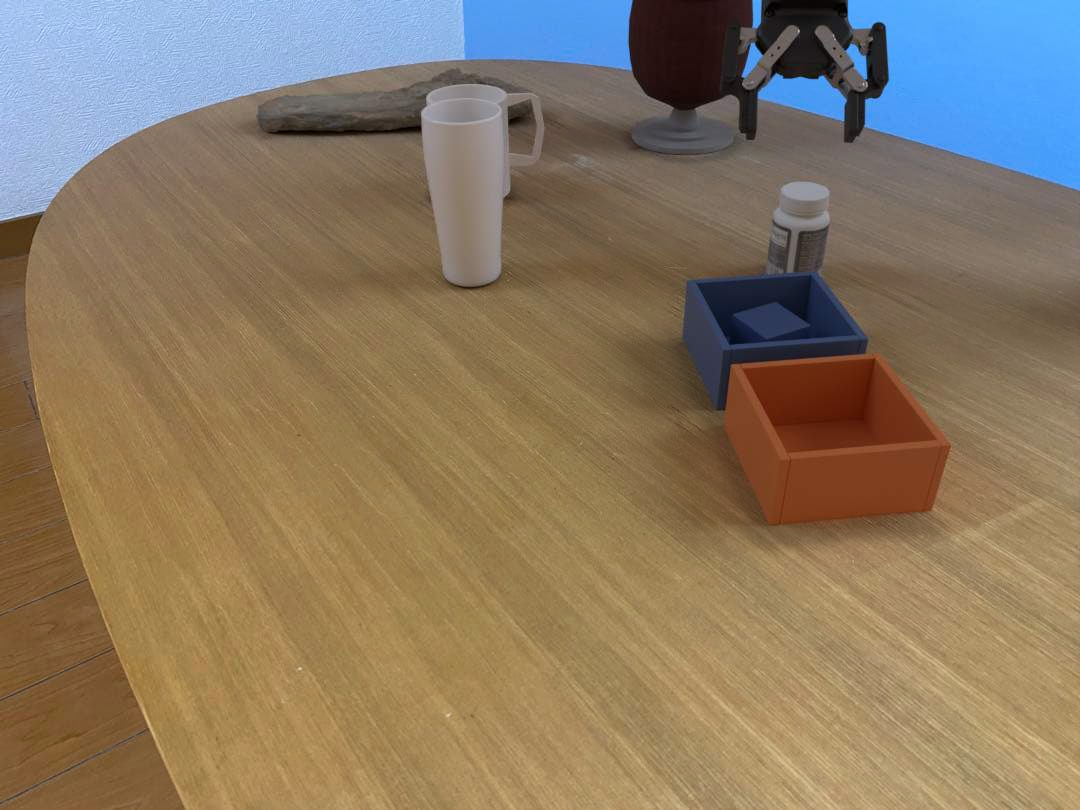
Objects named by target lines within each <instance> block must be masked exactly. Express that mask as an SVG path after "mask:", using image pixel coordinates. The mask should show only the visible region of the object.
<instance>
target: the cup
mask: <svg viewBox="0 0 1080 810" xmlns="http://www.w3.org/2000/svg"><path fill="white" fill-rule="evenodd" d="M532 93H533V92H532ZM532 93H516V94H507V93H506V92H505V91H504V90H502V89H500V88H497V87H494V86H489V85H481V84H462V85H453V86H447V87H443V88H439V89H437V90H434V91H432V92H430V93H429V94H428V95H427V97H426V101H427V106H428V105H430V104H433V103H435V102H439V101H443V100H449V99H458V98H474V99H483V100H488V101H491V102H494V103H496V104H498V105H499V106H500V107H501V108H502V115H503V125H504V140H505V172H504V194H503V198H505V197H507V196H508V195H509V193H510V192H511V167H528V166H529V167H530V166H534V165H535V163H536V162H537V161H538V160H539V159H540V158H541V153H542V148H543V143H544V135H545V130H546V129H545V128H546V127H545V122H544V117H543V111H542V105H541V101H540V97H539V96H537V95H536V94H534V93H533V94H532ZM528 99H531V101H532V105H533V113H534V119H535V124H536V131H535V137H534V143H533V149H532V155H527V154H521V153H515V152H514V153H513V152H510V139H509V137H510V136H509V119H508V109H507V107H508V106H511V105H514V104H517V103H520V102H523V101H526V100H528Z"/></svg>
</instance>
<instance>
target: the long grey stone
mask: <svg viewBox="0 0 1080 810" xmlns="http://www.w3.org/2000/svg"><path fill="white" fill-rule="evenodd" d="M462 84H481V85H489V86H494V87H497V88H500V89H502V90H504V91H505V92H506V93H507V94H516V93H532V94H534V93H533V91H532V90H531V89H529V88H526V87H523V86H516V85H514V84H513V83H507V82H505V81H504V80H501V79H500V78H498V77H492V76H483V77H481V76H480V75H479V74H478V73H476V72H473V73H472V72H471V73H463V72H462V70H461V69H460V68H459V67H457V68H450V69H447V70H446V71H443V72H441V73H439V74H438V75H434V76H433V77H431V80H427V81H423V80H422V81H417V82H414V83H412V84H411V85H410V86H407V87H404V86H403V87H401V88H398V89H397V88H396V89H393V90H391V91H385V90H372V91H361V92H360V91H352V92H347V93H339V92H338V93H329V94H328V93H326V94H324V93H323V94H309V95H291V96H290V95H289V94H285V95H284V96H281V95H280V96H276V97H275V98H271V99H268V100H266V101H265V102H263V104H258V105H257V109H258V110H257V113H256V115H255V116H256V119H257V124H258V126H259V128H261V129H262V130H264V131H265V132H267V133H277V132H279V131H297V132H298V131H299V132H300V131H318V132H322V131H325V132H326V131H327V132H328V131H332V132H338V133H340V132H345V131H366V132H374V131H381V132H383V131H392V130H398V129H401V128H403V129H405V128H415V127H421V112H422V110H423V109H424V108H425V107H427V101H426V97H427V95H428V94H429V93H430V92H432V91H434V90H437V89H439V88H443V87H447V86H453V85H462ZM507 109H508V120H511V119H515V118H518V117H524V116H527V115H528V116H529V115H530V114H532V113H533V112H534V110H533V105H532V101H531V99H528V100H526V101H523V102H520V103H517V104H514V105H511V106H508V107H507Z"/></svg>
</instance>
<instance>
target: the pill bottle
mask: <svg viewBox="0 0 1080 810" xmlns="http://www.w3.org/2000/svg"><path fill="white" fill-rule="evenodd" d="M830 193H831V192H830V190H829V188H827V187H826V186H824V185H822V184H819V183H816V182H811V181H794V182H789V183H787V184H784V185H783V186H781V188H780V193H779V199H778V207H777V208H775V210H774V211H773V214H772V217H771V218H772V219H771V227H770V235H769V243H768V252H767V260H766V267H765V274H780V273H794V272H810V271H817V273H818V274H819V275H820V277H821V278H822V271H823V265H824V260H825V254H826V249H827V248H826V247H827V241H828V235H829V229H830V224H831V216H830V214H829V212H828V211H827V210H828V207H829V201H830Z"/></svg>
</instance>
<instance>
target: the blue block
mask: <svg viewBox="0 0 1080 810" xmlns="http://www.w3.org/2000/svg"><path fill="white" fill-rule="evenodd" d="M809 331H810V325H809V324H808V323H806V322H805V321H803V320H802V319H800V318H799V317H797V316H796V315H794V314H793V313H792V312H790V311H789V310H787V309H786V308H784V307H783V306H781V305H780V304H778V303H777V302H774V303H770V304H767V305H763V306H760V307H756V308H753V309H749V310H746V311H742V312H739V313H735V314H733V316H732V324H731V333H730V342H729V345H735V344H748V343H761V342H774V341H787V340H800V339H808V337H809Z"/></svg>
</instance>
